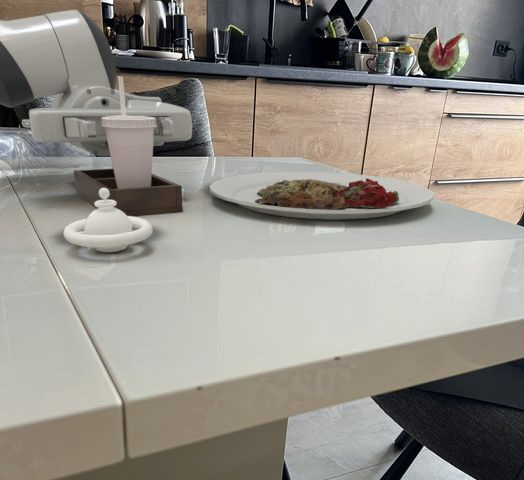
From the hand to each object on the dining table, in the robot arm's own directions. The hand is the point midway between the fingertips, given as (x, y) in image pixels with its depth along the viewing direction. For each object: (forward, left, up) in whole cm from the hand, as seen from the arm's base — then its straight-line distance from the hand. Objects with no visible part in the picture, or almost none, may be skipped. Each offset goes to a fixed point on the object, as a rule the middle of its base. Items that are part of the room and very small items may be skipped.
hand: (130, 129), depth 64 cm
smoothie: (0, +1, -9) cm, 9 cm away
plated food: (+24, -5, -9) cm, 26 cm away
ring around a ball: (-8, -17, -9) cm, 21 cm away
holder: (0, +5, -9) cm, 10 cm away
